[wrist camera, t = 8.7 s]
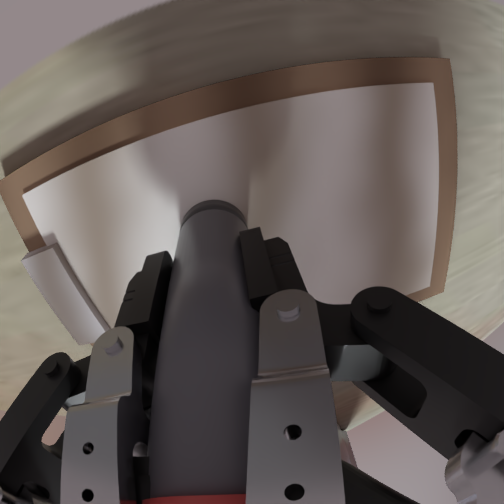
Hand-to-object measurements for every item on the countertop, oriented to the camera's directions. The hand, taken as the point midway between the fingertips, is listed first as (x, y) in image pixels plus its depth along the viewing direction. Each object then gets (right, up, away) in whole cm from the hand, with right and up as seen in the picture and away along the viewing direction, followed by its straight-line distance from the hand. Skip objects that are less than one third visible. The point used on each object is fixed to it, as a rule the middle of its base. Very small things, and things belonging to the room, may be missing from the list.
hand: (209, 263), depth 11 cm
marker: (0, +1, +2) cm, 3 cm away
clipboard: (+2, +1, +4) cm, 4 cm away
